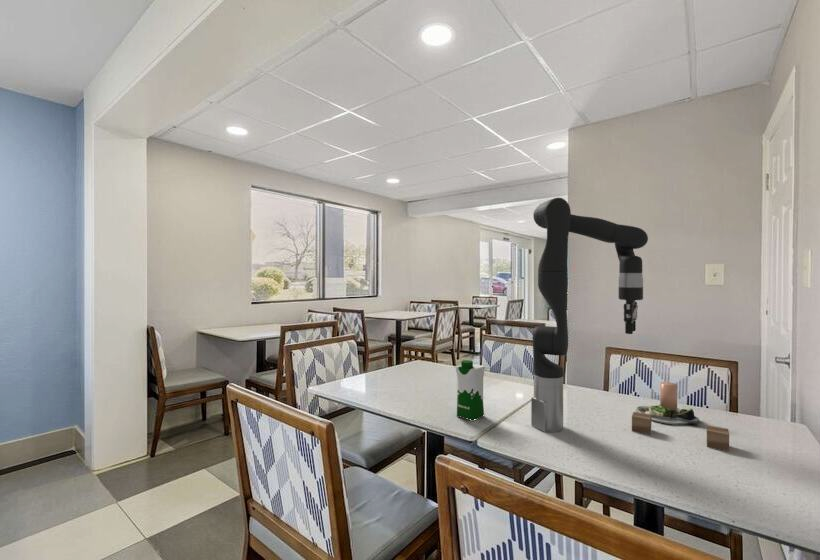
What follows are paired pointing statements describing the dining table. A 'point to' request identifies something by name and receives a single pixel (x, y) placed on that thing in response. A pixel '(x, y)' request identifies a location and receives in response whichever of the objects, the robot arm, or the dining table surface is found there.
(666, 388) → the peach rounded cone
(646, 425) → the back walnut cube
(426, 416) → the dining table surface
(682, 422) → the salad plate
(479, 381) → the milk carton
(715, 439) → the front walnut cube
